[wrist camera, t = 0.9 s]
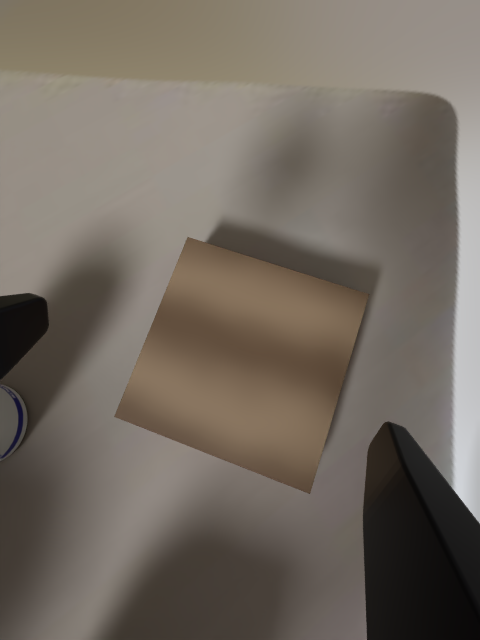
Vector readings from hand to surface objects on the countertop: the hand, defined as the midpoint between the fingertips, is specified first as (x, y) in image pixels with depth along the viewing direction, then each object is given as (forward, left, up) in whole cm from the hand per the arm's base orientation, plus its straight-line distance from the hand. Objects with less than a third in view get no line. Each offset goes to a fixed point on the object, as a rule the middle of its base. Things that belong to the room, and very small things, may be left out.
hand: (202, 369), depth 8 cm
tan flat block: (+2, 0, -15) cm, 15 cm away
